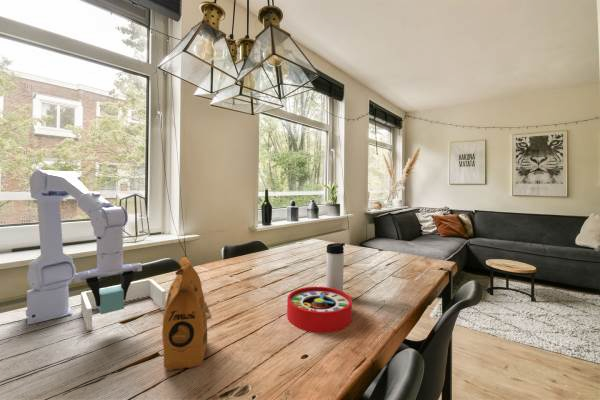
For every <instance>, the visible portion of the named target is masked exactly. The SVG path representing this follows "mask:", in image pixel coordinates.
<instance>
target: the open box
mask: <svg viewBox="0 0 600 400" xmlns="http://www.w3.org/2000/svg"><path fill="white" fill-rule="evenodd" d="M119 285H120V286H121V284H118V285H112V286H106V287H102V288H100V289H104V288H109V287H114V286H119ZM166 294H167V293H166V290H165V288H163V287H161V285H159V284H158V283H157V282H156V281H155V280H154V279H152V278H148V279H142V280H138V281H137V280H136V281H131V283H130V286H129V288H128V291H127V294H126V300H124V303H126V302H125V301H127V302H130V301H129V300H131V301H134V300H133V299H135V300H138V299H137V298H139V299H143V298H142V297H144V298H146V297H147V296H148V297H149V296H150V297H151V298H152V299H153V300H152V299H151V298H150V299H151V300H152V301H153V302H154V303H155V304H156V306H158V307H159V308H160V309H161V310H162V311H163V310H165V304H166V300H167V296H166ZM80 295H81V296H80V298H81V299H80V301H81V303H80V304H81V313H82V317H83V320H84V321H83V322H84V324H85V327H86V331H88V332H89V331H92V330H93V310H96V308H97V309H98V307H97V306H96V302H95V298H94V295H93V292H92V291H91V290H86V291H81V293H80ZM148 297H147V298H148ZM92 309H93V310H92Z"/></svg>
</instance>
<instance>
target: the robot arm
mask: <svg viewBox="0 0 600 400" xmlns="http://www.w3.org/2000/svg"><path fill="white" fill-rule="evenodd" d="M29 189H30V191H29V192H30V196H31V197H30V198H32V199H33V200H35V201H36V203H37V204H36V205H37V217H38V219H37V220H38V233H39V245H40V248H39V249H40V255H39V256H37V257H36V258H34V259H33V260H32V261H31V262H29V264H28V270H27V271H28V272H27V275H26V281H27V284H28V286H29V287H30V288H31V289H29V290H27V291H26V307H27V308H26V310H25V316H26V317H27V325H28V326H29V325H32V324H36V323H42V322H46V321H50V320H54V319H55V320H56V319H58V318H62V317H66V316H70V315H72V310H71V306H70V303H69V300H70V299H69V298H70V297H69V296H70V295H69V284H71V283H72V280H74V282H75V283H80V282H82V281H85V282H86V284H87V285H88V288H89V289H90V291H92V292H93V295H94V298H95V302H96V306H97V307H98V306H100V296H99V289H101V288H100V284H101V283H100V278H104V277H105V278H106V277H110V276H117V275H119V276H120V285H121V288H122V289H123V290H124V300H126V294H127V291H128V288H129V286H130V283H131V282H133V279H134V278H135V273H134V272H142V271H143V264H142V263H141V262H136V263H135V262H134V263H126V264H124V239H123V238H124V235H123V232H124V231H123V230H124V227H125V226H126V225H127V223H128V220H129V219H128V218H129V215H128V212H127V210H126V209H125V208H124V206H122V205H113V204H112V203H111V202H110V201H108V199H106V198H104V197H103V196H102V195H101V193H100V192H99V191H90V190H89V189H88V188H87V186H85V185H84V184H83V183H82V178H81V175H80V174H78V172H76V171H74V170H73V171H71V170H70V171H65V170H64V171H63V170H47V169H46V170H45V169H35V170H34V171H33V172H32V173H31V175H30V177H29ZM70 196H71V197H72V198H74V199H75V200H77V206H78V208H79V209H80V210H82V212H84V213H85V214H86V215H87V216H88V217H89V219H90V223H91V226H92V229H93V234H94V235H93V236H95V237H96V268H93V269H92V268H91V269H89V270H84V271H80V272H77V269H76V266H75V264H74V258H73V257H72V256H71V255H69V254H67V253H64V247H63V246H64V245H63V244H64V243H63V234H62V233H63V231H62V217H61V216H62V214H61V204H60V203H61V202H62V201H63V199H67V198H69V197H70Z"/></svg>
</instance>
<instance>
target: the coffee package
mask: <svg viewBox="0 0 600 400" xmlns="http://www.w3.org/2000/svg"><path fill="white" fill-rule="evenodd" d="M179 265H180V268H179V269H178V270H177V271H175V277H174V279H173V281H172V283H171V284H170V286H169V289H168V293H167V296H166V304H165V309H164V311H163V318H162V330H161V331H162V332H161V335H162V338H161V339H162V347H163V366H164V368H165V369H166V371H172V370H182V369H185V368H188V369H189V368H190V369H192V368H194V367H198V366H201V365H202V364H203V361H204V357H205V351H206V349H207V347H208V321H207V319H208V318H206V308H205V303H206V301H205V296H204V293H203V287H202V282H201V278H200V276H199V273H198V272H197V271H196V270H195V268H194V267H193V265H192V264H191V262H190V260H189V259H188V258H187V257H186V256H185V257H183V258H181V259H180V261H179Z"/></svg>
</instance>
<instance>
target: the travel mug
mask: <svg viewBox="0 0 600 400" xmlns="http://www.w3.org/2000/svg"><path fill="white" fill-rule="evenodd" d="M345 246H346V244H345V243H344V242H342V243H340V242H335V243H329V244H327V245H326V252H325V253H326V259H325V261H326V262H325V287H328V288H333V289H337V290H340V291H343V292H344V266H345V265H344V257H345V255H344V254H345V253H344V252H345V248H344V247H345Z"/></svg>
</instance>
